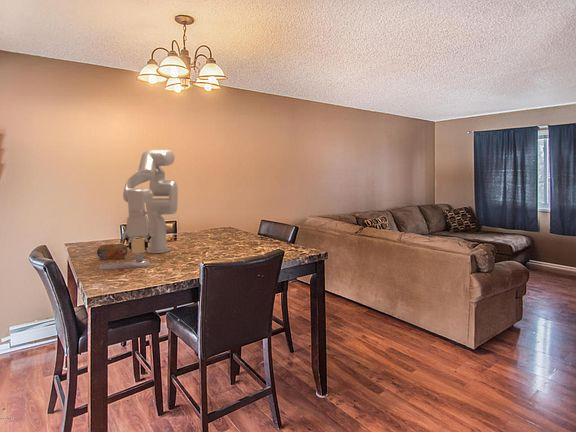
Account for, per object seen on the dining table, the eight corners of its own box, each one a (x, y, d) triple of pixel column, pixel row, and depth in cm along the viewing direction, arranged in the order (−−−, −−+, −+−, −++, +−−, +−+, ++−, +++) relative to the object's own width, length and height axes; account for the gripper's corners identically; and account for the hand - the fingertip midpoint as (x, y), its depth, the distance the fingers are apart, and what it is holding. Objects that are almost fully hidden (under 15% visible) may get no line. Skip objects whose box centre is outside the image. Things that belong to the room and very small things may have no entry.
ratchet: (102, 266, 182) (101, 254, 181) (149, 262, 189) (149, 251, 188) (98, 271, 173) (97, 258, 172) (148, 267, 180) (148, 255, 179)
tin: (97, 260, 194) (96, 245, 193) (99, 259, 197) (98, 244, 196) (127, 259, 197) (126, 243, 196) (128, 257, 200) (127, 242, 199)
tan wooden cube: (132, 250, 184) (132, 239, 183) (145, 250, 186) (145, 238, 185) (131, 253, 178) (131, 241, 177) (144, 252, 180) (144, 240, 179)
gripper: (155, 212, 186) (157, 247, 188) (118, 214, 181) (121, 249, 183) (155, 214, 179) (156, 250, 181) (116, 215, 174) (119, 252, 176)
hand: (138, 249), depth 182 cm, fingers closed on tan wooden cube, 6 cm apart
